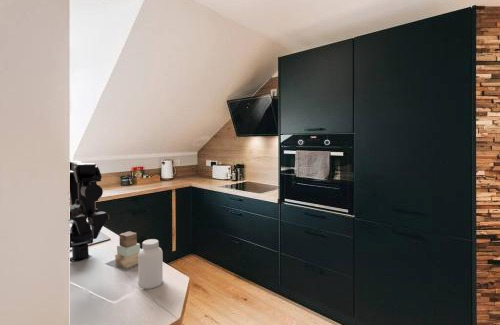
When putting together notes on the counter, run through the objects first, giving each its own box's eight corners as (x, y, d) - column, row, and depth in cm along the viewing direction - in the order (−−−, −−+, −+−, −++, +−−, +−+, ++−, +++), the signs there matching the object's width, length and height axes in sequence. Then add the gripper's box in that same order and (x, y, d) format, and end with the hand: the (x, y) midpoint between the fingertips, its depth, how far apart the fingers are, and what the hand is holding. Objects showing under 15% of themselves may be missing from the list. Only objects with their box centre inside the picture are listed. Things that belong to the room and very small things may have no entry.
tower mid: (117, 254, 110) (117, 245, 109) (130, 249, 115) (130, 241, 115) (126, 257, 107) (126, 248, 106) (139, 252, 112) (139, 243, 112)
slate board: (104, 265, 110) (104, 263, 110) (126, 256, 119) (126, 255, 119) (125, 272, 103) (125, 271, 103) (147, 263, 112) (147, 261, 112)
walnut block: (119, 245, 110) (119, 234, 109) (129, 241, 114) (129, 231, 113) (126, 247, 107) (126, 236, 107) (136, 244, 111) (136, 233, 111)
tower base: (115, 264, 110) (115, 254, 109) (130, 257, 116) (130, 248, 115) (126, 268, 106) (126, 258, 106) (141, 261, 112) (141, 252, 112)
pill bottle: (155, 290, 91) (154, 246, 90) (133, 287, 93) (132, 244, 92) (167, 279, 99) (166, 238, 98) (146, 277, 101) (146, 236, 100)
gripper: (50, 197, 102) (51, 238, 103) (78, 203, 93) (79, 248, 94) (81, 192, 111) (82, 230, 112) (109, 197, 102) (110, 238, 103)
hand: (87, 236), depth 105 cm, fingers open, 9 cm apart
